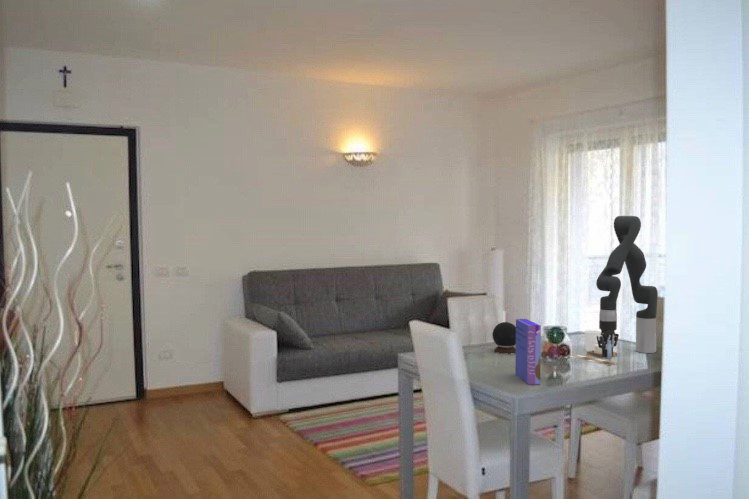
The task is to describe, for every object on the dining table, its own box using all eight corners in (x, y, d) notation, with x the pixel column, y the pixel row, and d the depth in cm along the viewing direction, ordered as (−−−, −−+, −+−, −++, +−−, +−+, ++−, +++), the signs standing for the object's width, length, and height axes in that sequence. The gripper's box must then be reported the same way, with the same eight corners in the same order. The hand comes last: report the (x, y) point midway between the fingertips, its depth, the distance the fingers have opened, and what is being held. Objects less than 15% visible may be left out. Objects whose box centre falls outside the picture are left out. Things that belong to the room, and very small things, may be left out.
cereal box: (540, 384, 251) (540, 325, 250) (528, 385, 250) (529, 325, 249) (526, 374, 268) (526, 318, 267) (515, 374, 268) (515, 318, 267)
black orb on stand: (524, 352, 314) (524, 322, 313) (506, 355, 306) (506, 325, 306) (505, 348, 325) (505, 319, 324) (486, 351, 317) (487, 321, 317)
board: (577, 355, 305) (577, 354, 305) (617, 364, 287) (617, 362, 287) (568, 357, 301) (568, 356, 301) (607, 366, 283) (607, 364, 283)
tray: (599, 353, 310) (599, 349, 310) (617, 357, 302) (617, 352, 302) (586, 356, 304) (586, 351, 304) (604, 359, 296) (604, 355, 296)
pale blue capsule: (606, 357, 290) (606, 337, 290) (613, 358, 287) (613, 338, 286) (601, 358, 288) (601, 337, 288) (607, 359, 285) (607, 338, 285)
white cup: (583, 352, 314) (583, 332, 314) (584, 349, 322) (584, 329, 321) (600, 353, 311) (600, 333, 311) (600, 350, 319) (601, 330, 318)
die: (600, 354, 307) (600, 343, 306) (609, 355, 302) (609, 345, 302) (593, 355, 304) (594, 345, 304) (603, 357, 300) (603, 346, 299)
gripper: (610, 317, 294) (609, 353, 294) (591, 319, 286) (590, 357, 286) (624, 319, 287) (624, 356, 288) (605, 321, 279) (605, 359, 280)
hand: (607, 356), depth 287 cm, fingers closed on pale blue capsule, 3 cm apart
